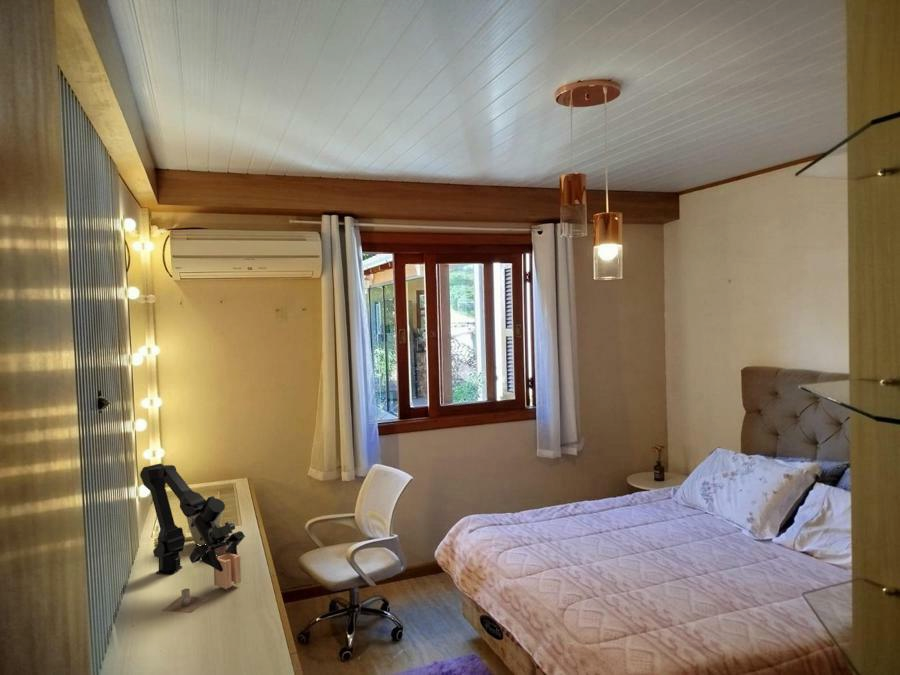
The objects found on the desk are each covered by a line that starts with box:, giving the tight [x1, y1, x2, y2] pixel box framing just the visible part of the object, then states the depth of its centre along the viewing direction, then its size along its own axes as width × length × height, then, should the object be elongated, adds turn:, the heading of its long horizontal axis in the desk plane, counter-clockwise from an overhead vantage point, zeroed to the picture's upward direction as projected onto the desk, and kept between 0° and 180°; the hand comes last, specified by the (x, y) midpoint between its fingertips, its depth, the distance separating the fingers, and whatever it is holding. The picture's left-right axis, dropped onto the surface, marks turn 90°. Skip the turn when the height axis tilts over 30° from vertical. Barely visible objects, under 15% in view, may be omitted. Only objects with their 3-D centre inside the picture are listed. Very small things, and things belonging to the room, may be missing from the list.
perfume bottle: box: [215, 533, 231, 557], centre depth 235 cm, size 8×3×10 cm, turn 74°
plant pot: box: [186, 511, 224, 545], centre depth 248 cm, size 15×15×16 cm
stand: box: [161, 588, 210, 614], centre depth 192 cm, size 10×10×5 cm
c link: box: [213, 553, 242, 590], centre depth 204 cm, size 6×6×9 cm
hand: (229, 567), depth 203 cm, fingers closed on c link, 6 cm apart
